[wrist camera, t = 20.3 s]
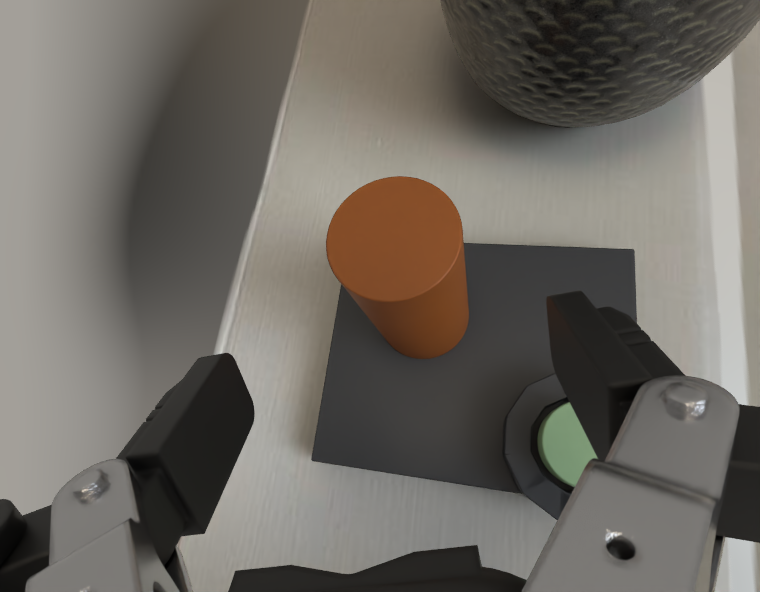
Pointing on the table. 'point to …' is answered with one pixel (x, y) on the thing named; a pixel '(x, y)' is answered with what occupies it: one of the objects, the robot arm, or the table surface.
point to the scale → (467, 376)
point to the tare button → (564, 445)
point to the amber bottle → (403, 263)
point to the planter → (593, 52)
